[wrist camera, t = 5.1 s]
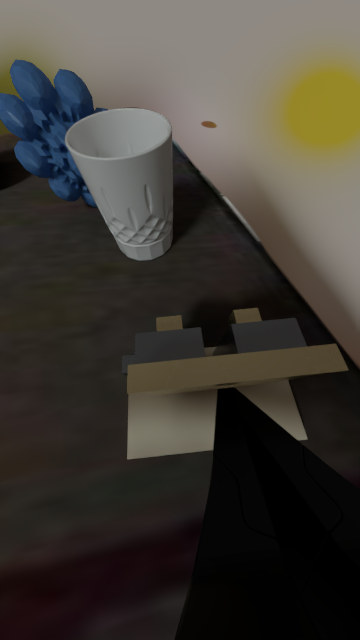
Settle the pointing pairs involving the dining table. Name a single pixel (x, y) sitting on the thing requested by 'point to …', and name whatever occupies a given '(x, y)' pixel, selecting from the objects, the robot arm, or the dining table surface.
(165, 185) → the white cup
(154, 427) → the birch board
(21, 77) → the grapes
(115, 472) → the dining table surface
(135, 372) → the tan notched block
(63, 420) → the dining table surface
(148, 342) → the grey two-prong bracket
